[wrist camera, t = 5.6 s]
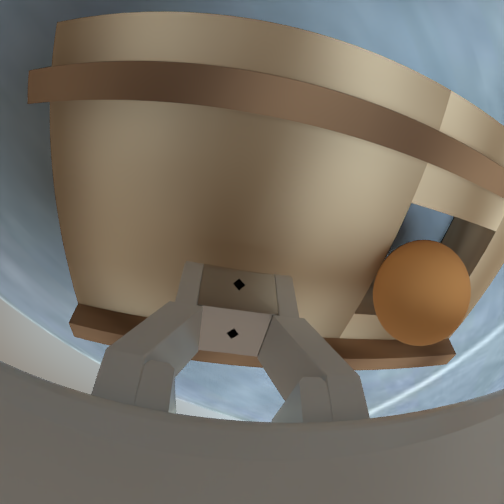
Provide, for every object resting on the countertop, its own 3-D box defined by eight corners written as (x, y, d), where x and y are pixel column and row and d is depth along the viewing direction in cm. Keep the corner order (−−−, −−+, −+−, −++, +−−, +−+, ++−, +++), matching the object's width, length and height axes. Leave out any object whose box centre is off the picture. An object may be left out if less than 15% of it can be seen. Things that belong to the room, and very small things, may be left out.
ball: (406, 293, 13) (341, 297, 12) (445, 224, 11) (380, 214, 10) (448, 355, 10) (383, 376, 9) (504, 285, 8) (450, 292, 7)
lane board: (105, 296, 16) (81, 354, 12) (98, 26, 7) (34, 21, 4) (412, 328, 18) (432, 377, 15) (512, 143, 10) (566, 178, 7)
